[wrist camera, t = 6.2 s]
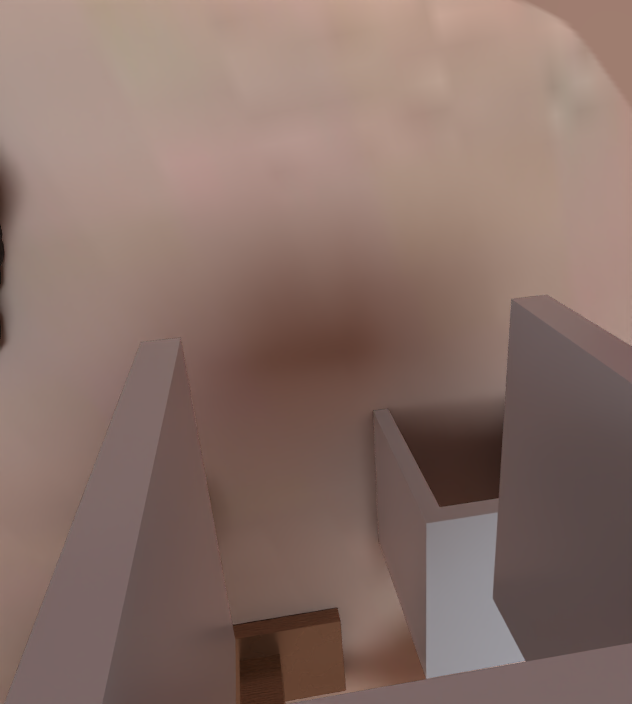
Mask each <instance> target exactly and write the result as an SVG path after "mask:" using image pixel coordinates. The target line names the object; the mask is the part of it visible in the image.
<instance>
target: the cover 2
mask: <svg viewBox="0 0 632 704" xmlns="http://www.w3.org/2000/svg"><path fill="white" fill-rule="evenodd" d="M373 422H374V446H375V471H376V496H377V521H378V541H379V544H380V546H381V549H382V552H383V555H384V558H385V561H386V564H387V567H388V570H389V573H390V575H391V578H392V581H393V584H394V587H395V590H396V593H397V596H398V599H399V602H400V604H401V607H402V610H403V613H404V616H405V619H406V622H407V625H408V628H409V631H410V634H411V636H412V639H413V642H414V645H415V648H416V651H417V654H418V657H419V660H420V663H421V665H422V668H423V671H424V674H425V677H426V679H429V678H434V677H440V676H445V675H451V674H456V673H461V672H467V671H472V670H478V669H483V668H489V667H494V666H500V665H505V664H511V663H516V662H522V661H525V659H524V657H523V655H522V654H521V652H520V650H519V648H518V646H517V644H516V642H515V640H514V638H513V636H512V635H511V633H510V631H509V629H508V627H507V625H506V623H505V621H504V619H503V617H502V616H501V614H500V612H499V610H498V608H497V606H496V604H495V602H494V600H493V582H494V566H495V550H496V535H497V519H498V503H499V498H497V499H490V500H483V501H477V502H470V503H464V504H457V505H451V506H444V507H439V505H438V503H437V501H436V499H435V497H434V495H433V493H432V491H431V490H430V488H429V486H428V484H427V482H426V480H425V478H424V476H423V474H422V472H421V471H420V469H419V467H418V465H417V463H416V461H415V459H414V457H413V455H412V453H411V451H410V450H409V448H408V446H407V444H406V442H405V440H404V438H403V436H402V434H401V432H400V430H399V429H398V427H397V425H396V423H395V421H394V419H393V417H392V415H391V413H390V411H389V410H388V409H381V410H374V411H373Z"/></svg>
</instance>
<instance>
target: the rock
mask: <svg viewBox="0 0 632 704" xmlns="http://www.w3.org/2000/svg"><path fill="white" fill-rule="evenodd" d="M3 256H4V245H3V241H2V230H1V226H0V266H1V264H2V262H3ZM0 284H1V272H0ZM0 337H1V326H0Z"/></svg>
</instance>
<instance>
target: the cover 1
mask: <svg viewBox="0 0 632 704" xmlns="http://www.w3.org/2000/svg"><path fill="white" fill-rule="evenodd" d="M493 600H494V602H495V604H496V606H497V608H498V610H499V612H500V614H501V616H502V617H503V619H504V621H505V623H506V625H507V627H508V629H509V631H510V633H511V635H512V636H513V638H514V640H515V642H516V644H517V646H518V648H519V650H520V652H521V654H522V655H523V657H524V659H525V661H526V662H521V663H516V664H510V665H504V666H499V667H493V668H487V669H482V670H476V671H470V672H465V673H459V674H453V675H448V676H442V677H436V678H431V679H425V680H419V681H414V682H408V683H402V684H397V685H391V686H386V687H380V688H374V689H369V690H363V691H357V692H352V693H346V694H340V695H335V696H329V697H323V698H318V699H312V700H306V701H301V702H295V703H289V704H632V346H630V345H629V344H627V343H625V342H624V341H622V340H621V339H619V338H617V337H616V336H614V335H612V334H611V333H609V332H607V331H606V330H604V329H602V328H601V327H599V326H598V325H596V324H594V323H593V322H591V321H589V320H588V319H586V318H584V317H583V316H581V315H580V314H578V313H576V312H575V311H573V310H571V309H570V308H568V307H566V306H565V305H563V304H561V303H560V302H558V301H557V300H555V299H553V298H552V297H550V296H548V295H540V296H532V297H523V298H514V299H511V313H510V328H509V344H508V360H507V376H506V392H505V408H504V424H503V439H502V455H501V471H500V487H499V503H498V519H497V535H496V550H495V566H494V582H493ZM4 704H236V649H235V636H234V630H233V625H232V619H231V614H230V608H229V602H228V597H227V591H226V586H225V580H224V575H223V569H222V564H221V558H220V552H219V547H218V541H217V536H216V530H215V525H214V519H213V514H212V508H211V502H210V497H209V491H208V486H207V480H206V475H205V469H204V464H203V458H202V453H201V447H200V441H199V436H198V430H197V425H196V419H195V414H194V408H193V403H192V397H191V391H190V386H189V380H188V375H187V369H186V364H185V358H184V353H183V347H182V341H181V337H180V338H172V339H163V340H155V341H146V342H141V343H140V345H139V348H138V351H137V353H136V356H135V359H134V361H133V364H132V366H131V369H130V372H129V374H128V377H127V380H126V382H125V385H124V388H123V390H122V393H121V396H120V398H119V401H118V404H117V406H116V409H115V411H114V414H113V417H112V419H111V422H110V425H109V427H108V430H107V433H106V435H105V438H104V441H103V443H102V446H101V449H100V451H99V454H98V456H97V459H96V462H95V464H94V467H93V470H92V472H91V475H90V478H89V480H88V483H87V486H86V488H85V491H84V494H83V496H82V499H81V501H80V504H79V507H78V509H77V512H76V515H75V517H74V520H73V523H72V525H71V528H70V531H69V533H68V536H67V539H66V541H65V544H64V547H63V549H62V552H61V554H60V557H59V560H58V562H57V565H56V568H55V570H54V573H53V576H52V578H51V581H50V584H49V586H48V589H47V592H46V594H45V597H44V599H43V602H42V605H41V607H40V610H39V613H38V615H37V618H36V621H35V623H34V626H33V629H32V631H31V634H30V637H29V639H28V642H27V644H26V647H25V650H24V652H23V655H22V658H21V660H20V663H19V666H18V668H17V671H16V674H15V676H14V679H13V682H12V684H11V687H10V689H9V692H8V695H7V697H6V700H5V703H4Z"/></svg>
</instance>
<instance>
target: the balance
mask: <svg viewBox="0 0 632 704" xmlns="http://www.w3.org/2000/svg"><path fill="white" fill-rule="evenodd" d="M233 630H234V636H235V649H236V704H286V703H285V701H290V700H295V699H301V698H307V697H312V696H318V695H323V694H329V693H334V692H340V691H345V690H346V687H345V674H344V661H343V649H342V636H341V623H340V617H339V613H338V608H334V609H328V610H322V611H316V612H310V613H304V614H298V615H293V616H287V617H281V618H275V619H269V620H263V621H257V622H251V623H245V624H239V625H233Z"/></svg>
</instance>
